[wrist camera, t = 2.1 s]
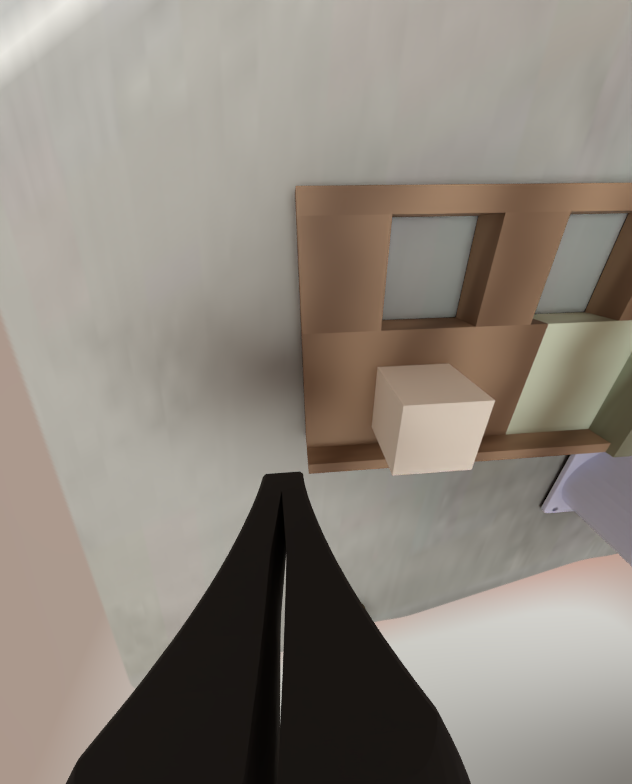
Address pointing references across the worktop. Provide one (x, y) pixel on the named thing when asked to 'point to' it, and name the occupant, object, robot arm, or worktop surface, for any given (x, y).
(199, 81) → the worktop surface
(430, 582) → the worktop surface
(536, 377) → the trap deck
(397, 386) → the cream block
